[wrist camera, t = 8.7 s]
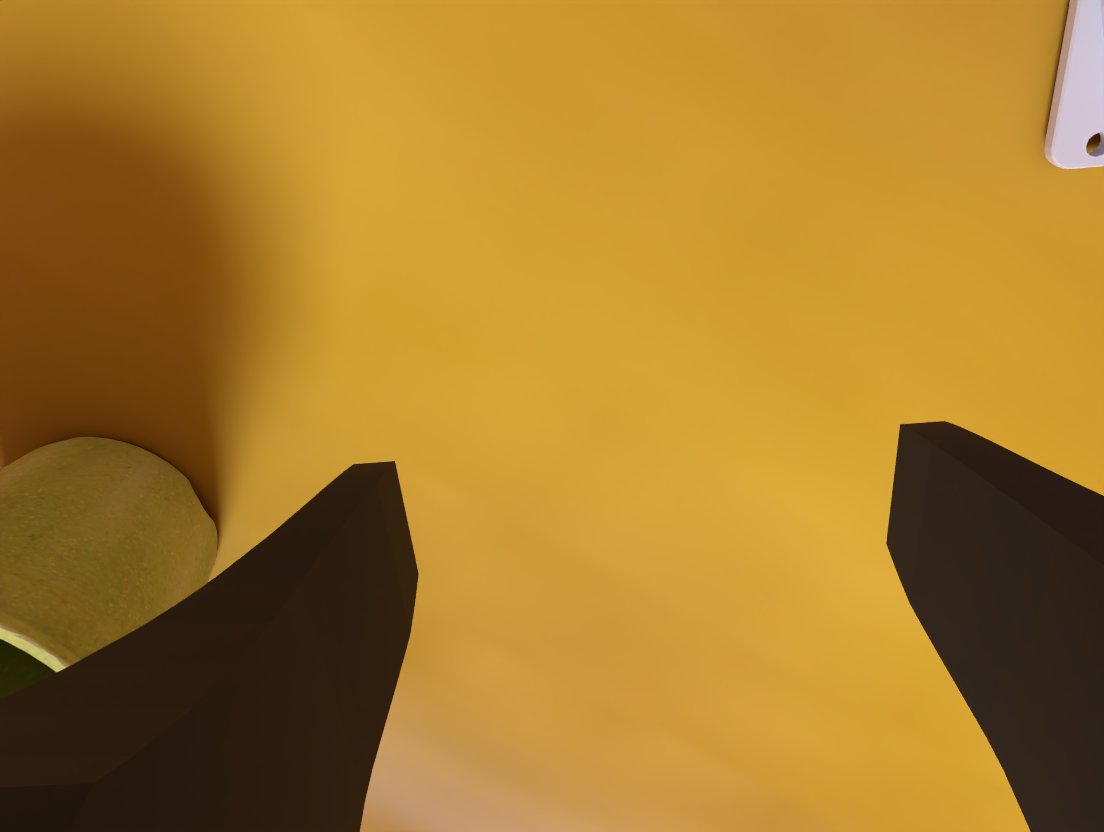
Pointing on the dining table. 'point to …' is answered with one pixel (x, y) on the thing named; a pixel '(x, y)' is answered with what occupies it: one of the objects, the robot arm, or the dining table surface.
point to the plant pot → (92, 551)
